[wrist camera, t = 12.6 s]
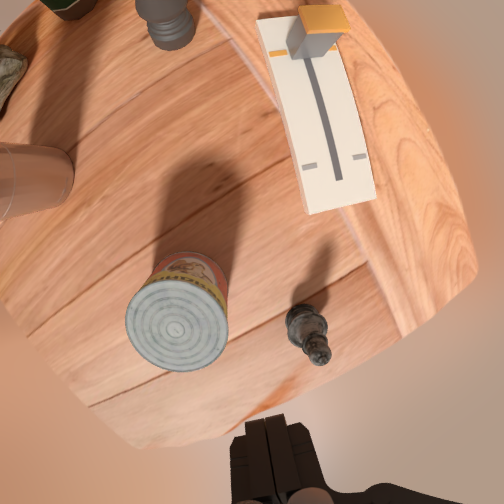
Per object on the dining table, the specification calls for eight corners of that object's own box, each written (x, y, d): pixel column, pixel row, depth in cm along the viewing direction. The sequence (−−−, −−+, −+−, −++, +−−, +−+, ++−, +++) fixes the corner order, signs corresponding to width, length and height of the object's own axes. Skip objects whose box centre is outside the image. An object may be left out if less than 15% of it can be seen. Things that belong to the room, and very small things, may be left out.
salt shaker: (314, 296, 44) (342, 335, 32) (325, 327, 45) (352, 371, 34) (277, 311, 44) (294, 355, 32) (290, 342, 45) (308, 389, 34)
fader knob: (324, 57, 33) (350, 28, 24) (290, 61, 33) (309, 30, 24) (317, 37, 32) (340, 4, 23) (283, 40, 32) (299, 5, 23)
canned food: (236, 262, 42) (240, 295, 30) (218, 332, 44) (215, 381, 32) (157, 242, 40) (131, 267, 29) (145, 314, 43) (121, 357, 31)
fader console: (368, 197, 41) (377, 198, 38) (304, 212, 41) (309, 214, 38) (319, 21, 34) (324, 14, 31) (254, 27, 34) (256, 19, 31)
